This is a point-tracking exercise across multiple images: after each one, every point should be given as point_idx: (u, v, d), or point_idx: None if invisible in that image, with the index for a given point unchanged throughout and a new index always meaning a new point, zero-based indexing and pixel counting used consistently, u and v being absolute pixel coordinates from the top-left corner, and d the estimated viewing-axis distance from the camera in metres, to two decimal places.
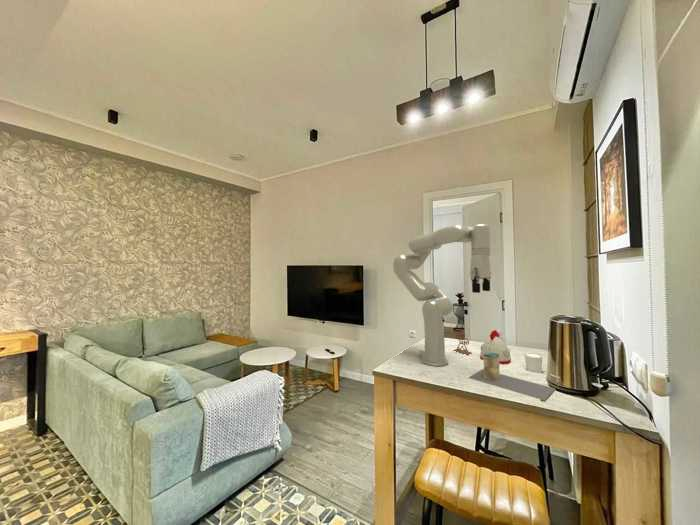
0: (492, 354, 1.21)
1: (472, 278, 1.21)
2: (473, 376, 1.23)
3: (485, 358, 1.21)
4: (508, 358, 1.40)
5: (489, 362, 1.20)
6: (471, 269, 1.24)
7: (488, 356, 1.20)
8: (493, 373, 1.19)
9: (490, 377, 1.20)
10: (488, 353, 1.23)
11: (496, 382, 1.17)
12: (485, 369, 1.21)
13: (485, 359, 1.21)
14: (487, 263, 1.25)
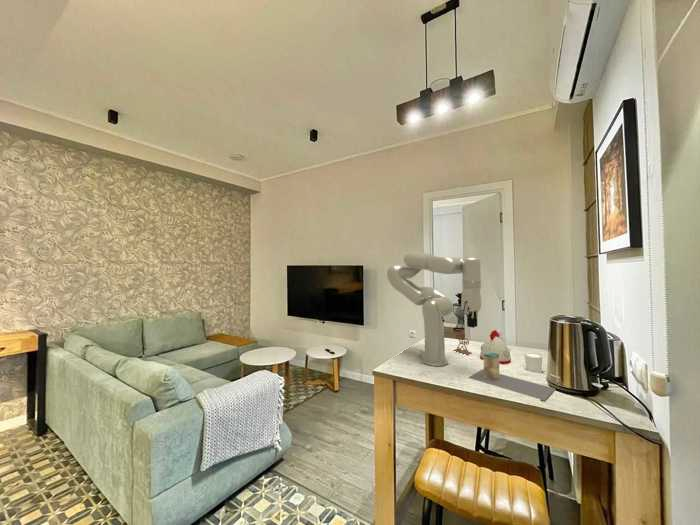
0: (492, 354, 1.21)
1: None
2: (473, 376, 1.23)
3: (485, 358, 1.21)
4: (508, 358, 1.40)
5: (489, 362, 1.20)
6: (462, 302, 1.26)
7: (488, 356, 1.20)
8: (493, 373, 1.19)
9: (490, 377, 1.20)
10: (488, 353, 1.23)
11: (496, 382, 1.17)
12: (485, 369, 1.21)
13: (485, 359, 1.21)
14: (478, 296, 1.27)
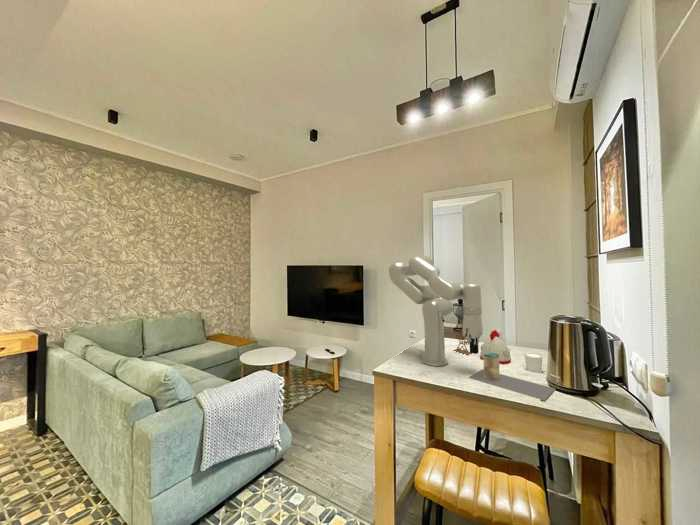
0: (492, 354, 1.21)
1: None
2: (473, 376, 1.23)
3: (485, 358, 1.21)
4: (508, 358, 1.40)
5: (489, 362, 1.20)
6: (463, 329, 1.26)
7: (488, 356, 1.20)
8: (493, 373, 1.19)
9: (490, 377, 1.20)
10: (488, 353, 1.23)
11: (496, 382, 1.17)
12: (485, 369, 1.21)
13: (485, 359, 1.21)
14: (479, 322, 1.26)
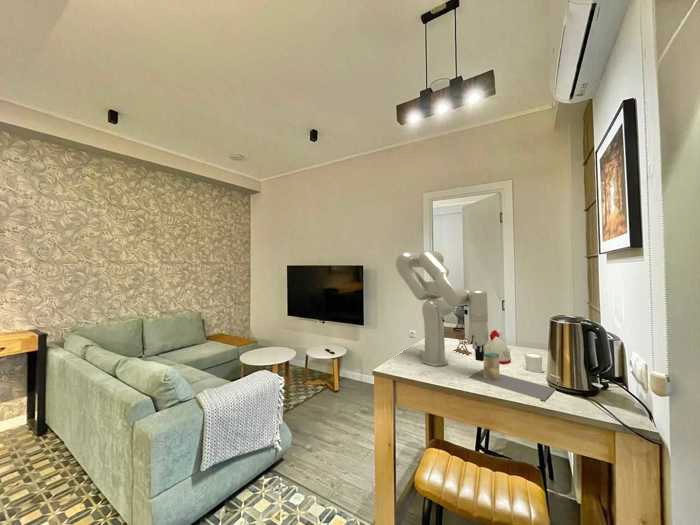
0: (492, 354, 1.21)
1: None
2: (473, 376, 1.23)
3: (485, 358, 1.21)
4: (508, 358, 1.40)
5: (489, 362, 1.20)
6: (469, 336, 1.24)
7: (488, 356, 1.20)
8: (493, 373, 1.19)
9: (490, 377, 1.20)
10: (488, 353, 1.23)
11: (496, 382, 1.17)
12: (485, 369, 1.21)
13: (485, 359, 1.21)
14: (485, 329, 1.24)
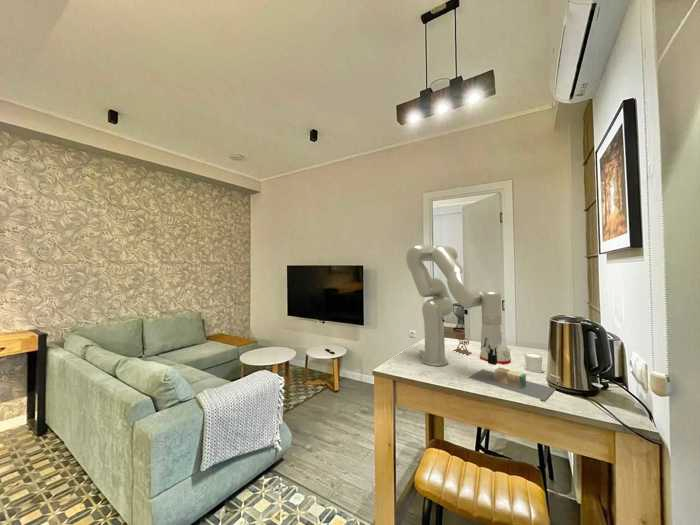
0: (523, 382, 1.13)
1: None
2: (473, 376, 1.23)
3: (517, 377, 1.12)
4: (508, 358, 1.40)
5: (513, 381, 1.13)
6: (482, 338, 1.20)
7: (520, 381, 1.11)
8: (502, 381, 1.16)
9: (497, 377, 1.18)
10: (523, 377, 1.13)
11: (496, 382, 1.17)
12: (504, 374, 1.16)
13: (515, 377, 1.13)
14: (498, 332, 1.20)
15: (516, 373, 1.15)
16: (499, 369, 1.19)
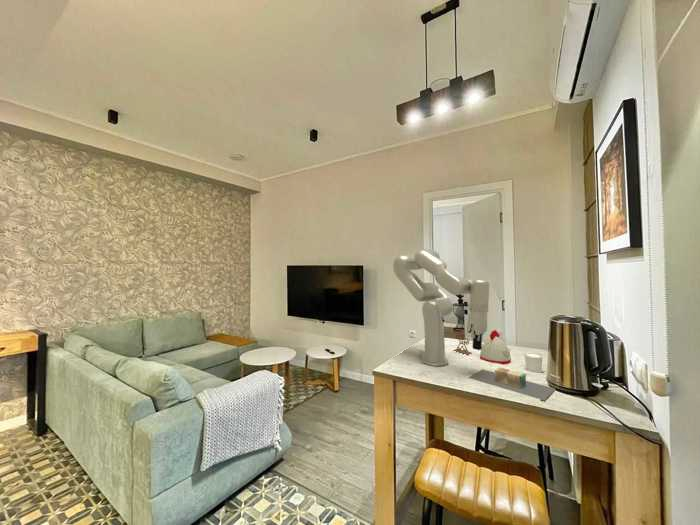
0: (523, 382, 1.13)
1: None
2: (473, 376, 1.23)
3: (517, 377, 1.12)
4: (508, 358, 1.40)
5: (513, 381, 1.13)
6: (468, 324, 1.24)
7: (520, 381, 1.11)
8: (502, 381, 1.16)
9: (497, 377, 1.18)
10: (523, 377, 1.13)
11: (496, 382, 1.17)
12: (504, 374, 1.16)
13: (515, 377, 1.13)
14: (484, 319, 1.25)
15: (516, 373, 1.15)
16: (499, 369, 1.19)
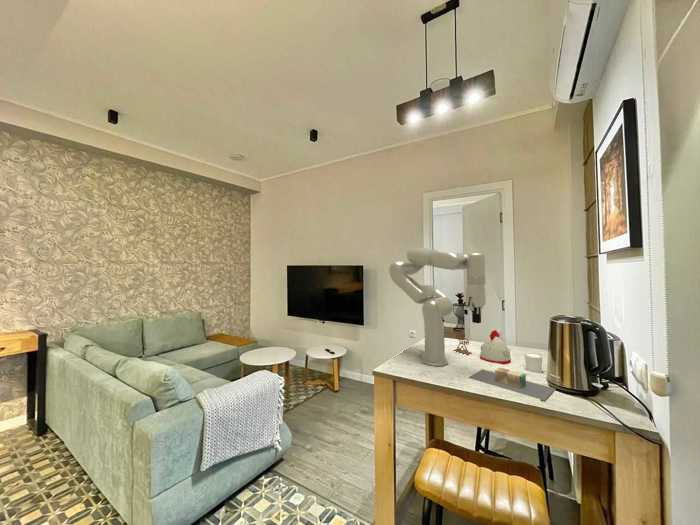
0: (523, 382, 1.13)
1: None
2: (473, 376, 1.23)
3: (517, 377, 1.12)
4: (508, 358, 1.40)
5: (513, 381, 1.13)
6: (466, 298, 1.25)
7: (520, 381, 1.11)
8: (502, 381, 1.16)
9: (497, 377, 1.18)
10: (523, 377, 1.13)
11: (496, 382, 1.17)
12: (504, 374, 1.16)
13: (515, 377, 1.13)
14: (482, 292, 1.25)
15: (516, 373, 1.15)
16: (499, 369, 1.19)
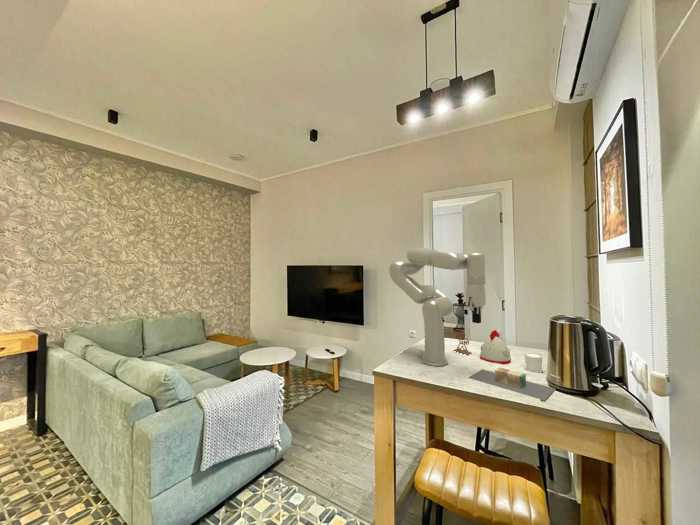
0: (523, 382, 1.13)
1: None
2: (473, 376, 1.23)
3: (517, 377, 1.12)
4: (508, 358, 1.40)
5: (513, 381, 1.13)
6: (466, 298, 1.25)
7: (520, 381, 1.11)
8: (502, 381, 1.16)
9: (497, 377, 1.18)
10: (523, 377, 1.13)
11: (496, 382, 1.17)
12: (504, 374, 1.16)
13: (515, 377, 1.13)
14: (482, 292, 1.25)
15: (516, 373, 1.15)
16: (499, 369, 1.19)
